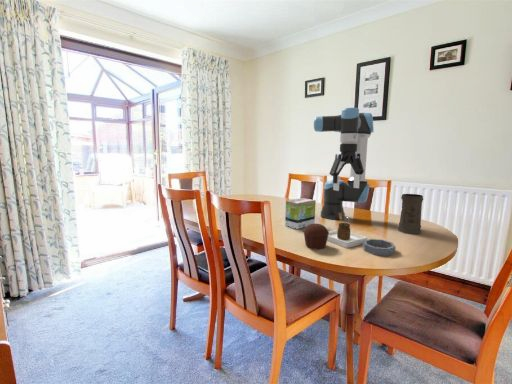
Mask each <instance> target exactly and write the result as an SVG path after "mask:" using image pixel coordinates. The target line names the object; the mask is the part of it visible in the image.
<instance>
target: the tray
mask: <svg viewBox="0 0 512 384" xmlns="http://www.w3.org/2000/svg"><path fill="white" fill-rule="evenodd" d="M337 230H338V229H334V230H333V229H332V230H328V232H329V234H328V238H327V242H330V243H332V244H335V245H338V246H340V247H342V248H344V249H348V248H352V247H356V246H359V245H363V242H364V240H368V237H367V236H364V235H361V234H358V233H355V232H352V231H350V239H349V240H341V239H338V237H337Z"/></svg>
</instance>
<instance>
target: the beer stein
mask: <svg viewBox="0 0 512 384" xmlns="http://www.w3.org/2000/svg"><path fill="white" fill-rule="evenodd" d="M400 198H401V211H400V217H399V218H400V219H399V222H398V227H397V230H398V232H400V233H404V234H408V235H418V234H421V233H422V229H421V228H422V225H421V224H422V208H423V206H422V204H423V201H424V196H423V195H422V194H417V193H416V194H415V193H403V194H401V197H400Z"/></svg>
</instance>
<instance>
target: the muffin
mask: <svg viewBox="0 0 512 384" xmlns="http://www.w3.org/2000/svg"><path fill="white" fill-rule="evenodd" d="M302 232H303V234H304V235H303V236H304V243H305V246H306V247H307V248H308V249H311V250H323V249H325V248H326V246H327V242H328V241H327V238H328V234H329V230H328V229H327V227H325V225H323V224H322V223H314V224H310V225H308V226H307V227H304V229H303V230H302Z"/></svg>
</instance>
